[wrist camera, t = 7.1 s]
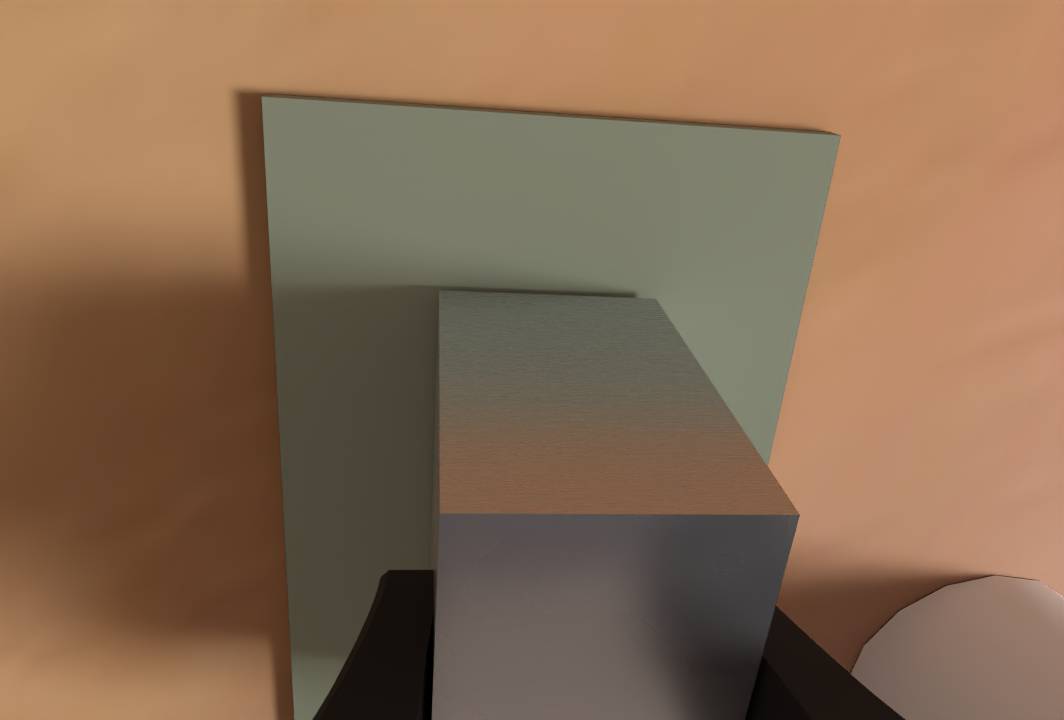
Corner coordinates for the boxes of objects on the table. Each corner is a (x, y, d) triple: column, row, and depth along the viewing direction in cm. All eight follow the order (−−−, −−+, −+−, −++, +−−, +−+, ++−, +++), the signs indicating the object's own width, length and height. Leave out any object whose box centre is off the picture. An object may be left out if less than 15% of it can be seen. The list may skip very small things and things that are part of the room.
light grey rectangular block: (655, 298, 14) (800, 514, 8) (600, 656, 17) (676, 976, 12) (439, 290, 13) (440, 513, 8) (426, 660, 16) (421, 993, 11)
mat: (830, 132, 13) (840, 135, 13) (703, 716, 18) (709, 730, 18) (266, 93, 12) (261, 96, 12) (298, 728, 17) (295, 743, 17)
